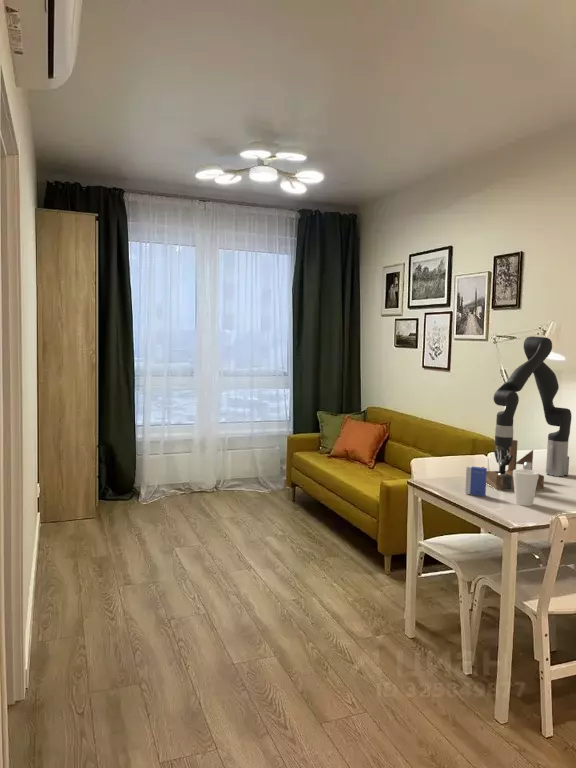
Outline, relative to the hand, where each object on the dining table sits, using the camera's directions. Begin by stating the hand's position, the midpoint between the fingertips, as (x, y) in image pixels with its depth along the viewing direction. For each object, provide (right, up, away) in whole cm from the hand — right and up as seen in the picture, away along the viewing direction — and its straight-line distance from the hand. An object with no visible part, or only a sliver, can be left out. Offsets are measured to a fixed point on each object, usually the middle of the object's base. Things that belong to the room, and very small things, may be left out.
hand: (502, 473), depth 262 cm
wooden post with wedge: (+15, -5, +18) cm, 24 cm away
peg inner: (+12, -1, +2) cm, 12 cm away
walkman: (-17, -7, -15) cm, 23 cm away
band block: (+6, -6, +1) cm, 8 cm away
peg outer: (0, -6, 0) cm, 6 cm away
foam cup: (-1, -8, -27) cm, 28 cm away
